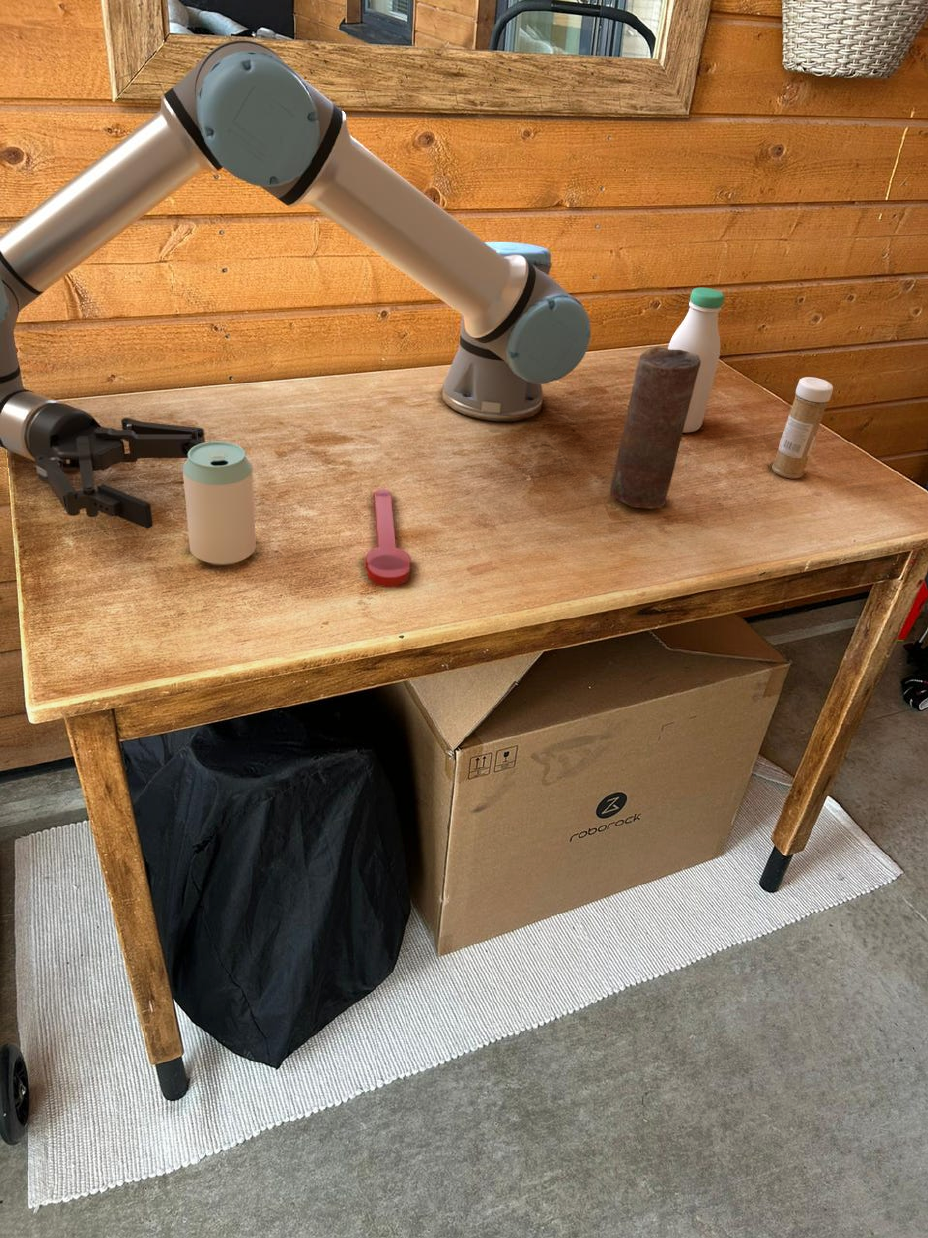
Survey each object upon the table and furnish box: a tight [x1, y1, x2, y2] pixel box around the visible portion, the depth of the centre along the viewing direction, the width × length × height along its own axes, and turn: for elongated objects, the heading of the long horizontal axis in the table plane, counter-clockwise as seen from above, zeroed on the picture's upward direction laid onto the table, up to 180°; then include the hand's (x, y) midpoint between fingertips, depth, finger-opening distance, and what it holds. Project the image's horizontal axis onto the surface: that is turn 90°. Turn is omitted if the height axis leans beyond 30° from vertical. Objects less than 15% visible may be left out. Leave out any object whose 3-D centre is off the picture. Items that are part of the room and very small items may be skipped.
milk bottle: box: [667, 287, 725, 433], centre depth 137 cm, size 8×8×20 cm
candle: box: [609, 346, 701, 510], centre depth 115 cm, size 8×7×20 cm
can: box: [182, 440, 257, 566], centre depth 99 cm, size 7×7×12 cm
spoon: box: [364, 488, 412, 588], centre depth 108 cm, size 20×5×1 cm, turn 6°
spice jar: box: [771, 376, 834, 479], centre depth 129 cm, size 5×5×13 cm
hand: (195, 490), depth 100 cm, fingers open, 13 cm apart
